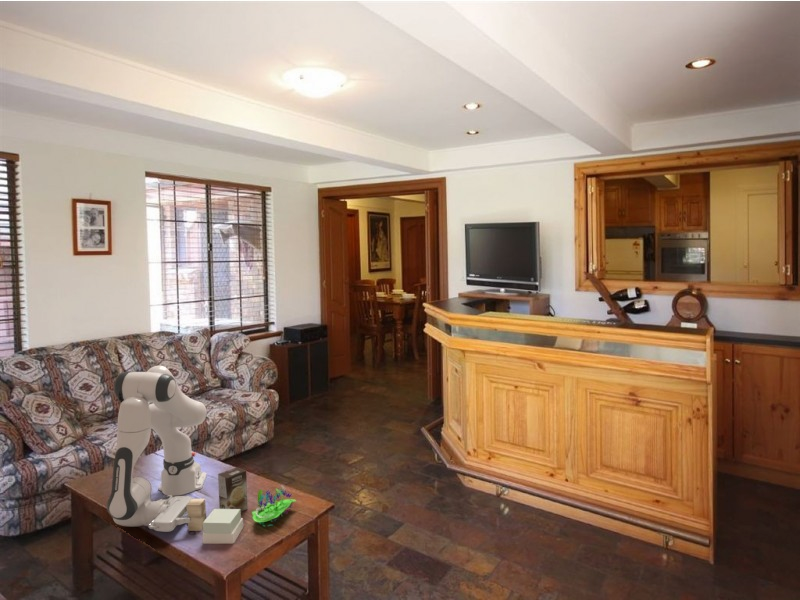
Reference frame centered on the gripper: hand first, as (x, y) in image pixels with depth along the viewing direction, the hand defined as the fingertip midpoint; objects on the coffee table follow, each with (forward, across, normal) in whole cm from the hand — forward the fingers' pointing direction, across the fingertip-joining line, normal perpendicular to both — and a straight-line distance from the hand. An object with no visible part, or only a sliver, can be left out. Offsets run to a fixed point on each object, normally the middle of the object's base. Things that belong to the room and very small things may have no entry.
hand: (195, 513), depth 202 cm
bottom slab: (+12, -6, +6) cm, 15 cm away
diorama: (+28, +6, +6) cm, 29 cm away
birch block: (0, 0, +6) cm, 6 cm away
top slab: (+12, -6, +2) cm, 14 cm away
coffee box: (+10, +12, +6) cm, 17 cm away
